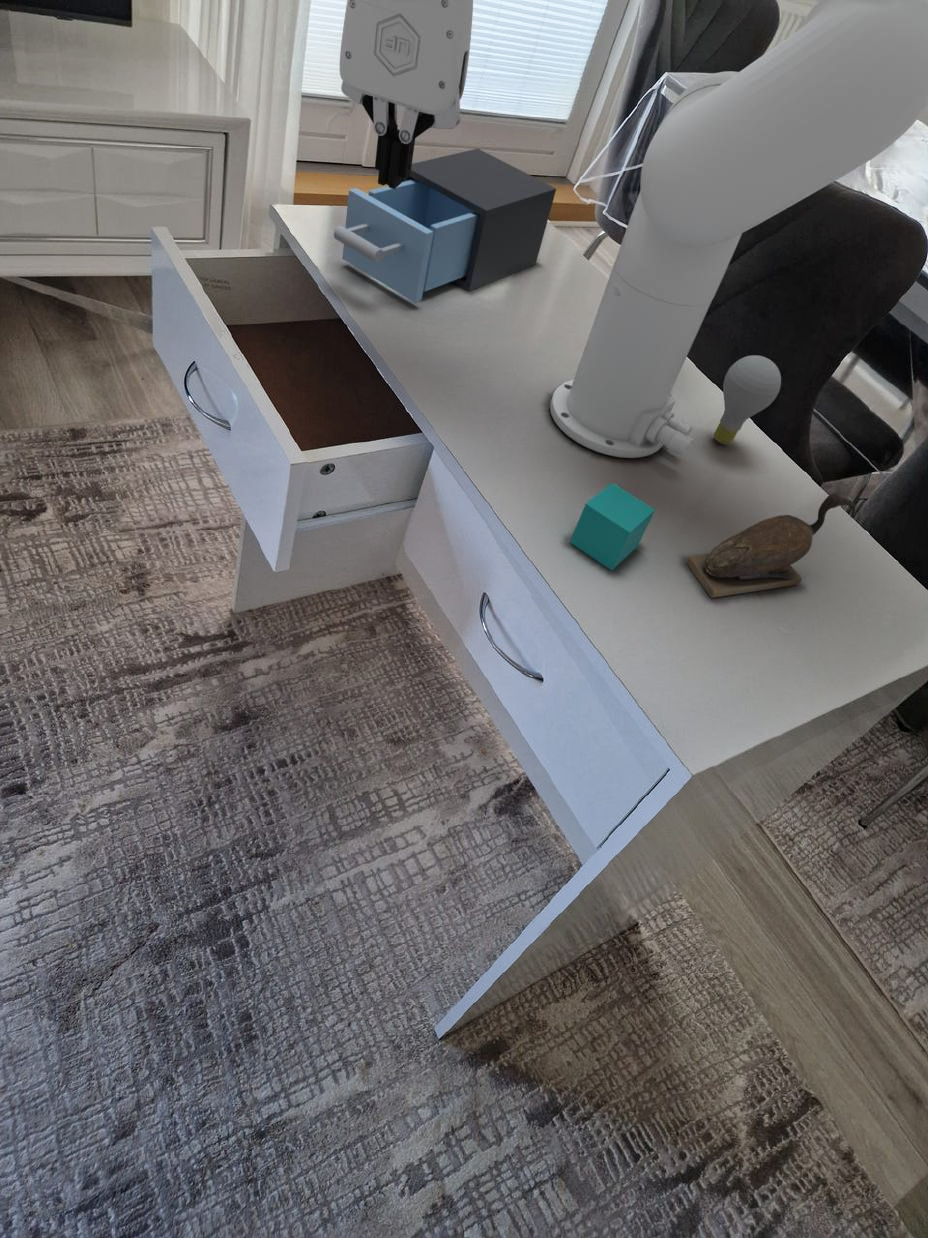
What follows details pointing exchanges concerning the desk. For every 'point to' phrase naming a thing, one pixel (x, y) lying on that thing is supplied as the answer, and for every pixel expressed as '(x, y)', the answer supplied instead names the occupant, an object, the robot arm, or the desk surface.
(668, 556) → the desk surface
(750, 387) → the light bulb
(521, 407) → the desk surface
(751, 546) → the figurine
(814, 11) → the robot arm
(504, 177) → the drawer cabinet
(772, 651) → the desk surface
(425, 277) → the blue drawer
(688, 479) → the desk surface
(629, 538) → the teal cube
